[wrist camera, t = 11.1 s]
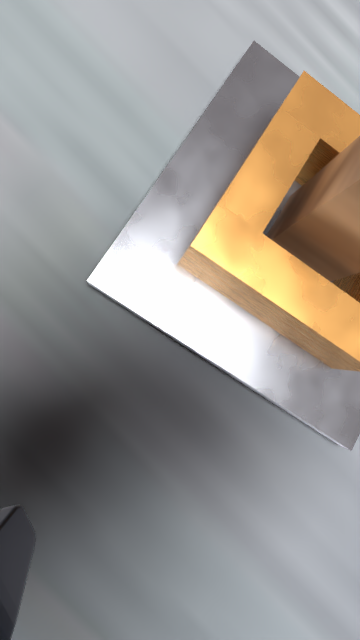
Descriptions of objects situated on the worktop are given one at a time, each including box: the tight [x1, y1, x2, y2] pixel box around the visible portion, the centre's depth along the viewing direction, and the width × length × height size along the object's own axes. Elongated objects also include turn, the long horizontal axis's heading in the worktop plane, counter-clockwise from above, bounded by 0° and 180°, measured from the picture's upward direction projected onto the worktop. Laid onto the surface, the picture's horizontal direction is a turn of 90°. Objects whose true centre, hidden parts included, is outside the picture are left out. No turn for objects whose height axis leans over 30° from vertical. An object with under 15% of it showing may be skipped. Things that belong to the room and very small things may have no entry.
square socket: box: [87, 41, 360, 451], centre depth 19 cm, size 18×18×5 cm
